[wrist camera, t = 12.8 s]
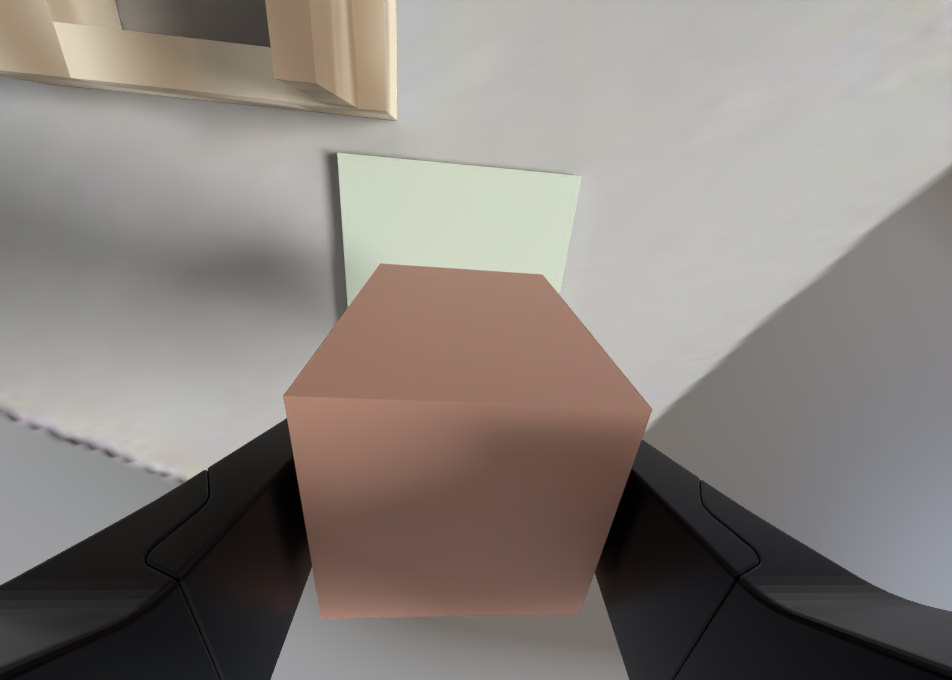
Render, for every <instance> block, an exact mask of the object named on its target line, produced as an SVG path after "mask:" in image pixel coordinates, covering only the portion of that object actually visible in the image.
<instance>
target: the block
mask: <svg viewBox="0 0 952 680" xmlns="http://www.w3.org/2000/svg"><path fill="white" fill-rule="evenodd" d="M283 397H284V403H285V409H286V415H287V421H288V427H289V432H290V438H291V444H292V450H293V456H294V462H295V468H296V474H297V479H298V485H299V491H300V497H301V503H302V509H303V515H304V521H305V526H306V532H307V538H308V544H309V550H310V556H311V562H312V568H313V573H314V579H315V585H316V590H317V597H318V603H319V609H320V615H321V618H382V617H447V616H509V615H575V614H580V612H581V609H582V607H583V604H584V601H585V598H586V595H587V593H588V590H589V587H590V584H591V581H592V578H593V576H594V573H595V570H596V567H597V564H598V561H599V559H600V556H601V553H602V550H603V547H604V544H605V542H606V539H607V536H608V533H609V530H610V527H611V525H612V522H613V519H614V516H615V513H616V511H617V508H618V505H619V502H620V499H621V496H622V494H623V491H624V488H625V485H626V482H627V479H628V477H629V474H630V471H631V468H632V465H633V462H634V460H635V457H636V454H637V451H638V448H639V445H640V443H641V440H642V437H643V434H644V431H645V429H646V426H647V423H648V420H649V417H650V414H651V412H652V408H651V407H650V406H649V405H648V403H647V402H646V401H645V400H644V398H643V397H642V396H641V395H640V393H639V392H638V391H637V390H636V389H635V387H634V386H633V385H632V384H631V382H630V381H629V380H628V379H627V377H626V376H625V375H624V374H623V373H622V371H621V370H620V369H619V368H618V366H617V365H616V364H615V363H614V361H613V360H612V359H611V358H610V357H609V355H608V354H607V353H606V352H605V350H604V349H603V348H602V347H601V346H600V344H599V343H598V342H597V341H596V339H595V338H594V337H593V336H592V334H591V333H590V332H589V331H588V330H587V328H586V327H585V326H584V325H583V323H582V322H581V321H580V320H579V318H578V317H577V316H576V315H575V314H574V312H573V311H572V310H571V309H570V307H569V306H568V305H567V304H566V302H565V301H564V300H563V299H562V298H561V296H560V295H559V294H558V293H557V291H556V290H555V289H554V288H553V287H552V285H551V284H550V283H549V282H548V280H547V279H546V278H545V277H544V275H543V274H529V273H514V272H500V271H485V270H470V269H455V268H441V267H426V266H411V265H396V264H382V263H380V264H379V266H378V267H377V268H376V270H375V271H374V273H373V274H372V275H371V277H370V278H369V279H368V281H367V282H366V284H365V285H364V286H363V288H362V289H361V290H360V292H359V293H358V294H357V296H356V297H355V299H354V300H353V301H352V303H351V304H350V305H349V307H348V308H347V310H346V311H345V312H344V314H343V315H342V316H341V318H340V319H339V320H338V322H337V323H336V325H335V326H334V327H333V329H332V330H331V331H330V333H329V334H328V336H327V337H326V338H325V340H324V341H323V342H322V344H321V345H320V346H319V348H318V349H317V351H316V352H315V353H314V355H313V356H312V357H311V359H310V360H309V362H308V363H307V364H306V366H305V367H304V368H303V370H302V371H301V372H300V374H299V375H298V377H297V378H296V379H295V381H294V382H293V383H292V385H291V386H290V388H289V389H288V390H287V392H286V393H285V394H284V396H283Z"/></svg>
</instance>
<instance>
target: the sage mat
mask: <svg viewBox="0 0 952 680" xmlns="http://www.w3.org/2000/svg"><path fill="white" fill-rule="evenodd" d="M337 158H338V172H339V187H340V202H341V217H342V231H343V246H344V261H345V275H346V290H347V305H348V307H349V305H350V304H351V303H352V301H353V300H354V299H355V297H356V296H357V294H358V293H359V292H360V290H361V289H362V288H363V286H364V285H365V284H366V282H367V281H368V279H369V278H370V277H371V275H372V274H373V273H374V271H375V270H376V268H377V267H378V266H379V264H380V263H382V264H396V265H411V266H426V267H441V268H455V269H470V270H485V271H500V272H514V273H529V274H543V275H544V277H545V278H546V279H547V280H548V282H549V283H550V284H551V285H552V287H553V288H554V289H555V290H556V291H557V293H558V294H559V295H560V289H561V284H562V279H563V274H564V269H565V263H566V258H567V253H568V248H569V242H570V237H571V232H572V227H573V222H574V216H575V211H576V206H577V201H578V195H579V190H580V185H581V180H582V176H577V175H566V174H556V173H545V172H535V171H524V170H514V169H503V168H493V167H482V166H472V165H461V164H451V163H440V162H430V161H419V160H409V159H398V158H388V157H377V156H367V155H356V154H346V153H337Z"/></svg>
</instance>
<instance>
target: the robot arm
mask: <svg viewBox="0 0 952 680" xmlns="http://www.w3.org/2000/svg"><path fill="white" fill-rule="evenodd" d="M311 568H312V562H311V556H310V550H309V544H308V538H307V532H306V526H305V521H304V515H303V509H302V503H301V497H300V491H299V485H298V479H297V474H296V468H295V462H294V456H293V450H292V444H291V438H290V432H289V427H288V421H287V419H285V420H283V421H282V422H280V423H279V424H277V425H275V426H274V427H272V428H271V429H269V430H267V431H266V432H264V433H263V434H261V435H259V436H258V437H256V438H255V439H253V440H252V441H250V442H248V443H247V444H245V445H244V446H242V447H240V448H239V449H237V450H236V451H234V452H232V453H231V454H229V455H228V456H226V457H224V458H223V459H221V460H220V461H218V462H217V463H215V464H213V465H212V466H210V467H209V468H208V471H207V470H204V471H202V472H200V473H199V474H197V475H196V476H194V477H192V478H191V479H189V480H188V481H186V482H184V483H183V484H181V485H179V486H178V487H176V488H175V489H173V490H171V491H170V492H168V493H166V494H165V495H163V496H161V497H160V498H158V499H156V500H155V501H153V502H151V503H150V504H148V505H146V506H144V507H142V508H141V509H139V510H137V511H136V512H134V513H132V514H130V515H128V516H126V517H125V518H123V519H121V520H119V521H118V522H116V523H114V524H112V525H110V526H109V527H107V528H105V529H104V530H101V531H99V532H98V533H96V534H94V535H92V536H90V537H88V538H87V539H85V540H83V541H81V542H79V543H77V544H76V545H74V546H72V547H70V548H68V549H66V550H65V551H63V552H61V553H59V554H58V555H56V556H54V557H52V558H50V559H48V560H46V561H45V562H43V563H41V564H39V565H37V566H35V567H34V568H32V569H30V570H28V571H26V572H24V573H23V574H21V575H19V576H17V577H15V578H13V579H12V580H10V581H8V582H6V583H4V584H2V585H0V680H270V679H271V676H272V674H273V671H274V668H275V666H276V663H277V660H278V658H279V655H280V652H281V649H282V646H283V644H284V641H285V639H286V636H287V633H288V630H289V627H290V625H291V622H292V620H293V617H294V614H295V611H296V609H297V606H298V603H299V601H300V598H301V595H302V592H303V590H304V587H305V584H306V582H307V579H308V576H309V573H310V571H311ZM595 575H596V578H597V581H598V584H599V587H600V591H601V593H602V597H603V600H604V603H605V606H606V609H607V612H608V615H609V618H610V621H611V624H612V628H613V631H614V634H615V637H616V640H617V643H618V646H619V649H620V652H621V655H622V658H623V662H624V665H625V667H626V671H627V674H628V677H629V680H952V612H951V611H947V610H942V609H938V608H934V607H930V606H926V605H922V604H919V603H916V602H913V601H910V600H907V599H904V598H902V597H899V596H897V595H894V594H892V593H889V592H887V591H885V590H883V589H881V588H879V587H876V586H874V585H872V584H870V583H869V582H867V581H865V580H863V579H862V578H860V577H858V576H856V575H854V574H853V573H851V572H850V571H848V570H846V569H845V568H843V567H841V566H840V565H838V564H836V563H835V562H833V561H831V560H829V559H828V558H826V557H825V556H823V555H821V554H820V553H818V552H816V551H815V550H813V549H811V548H809V547H808V546H806V545H804V544H803V543H801V542H800V541H798V540H796V539H795V538H793V537H791V536H790V535H788V534H786V533H785V532H783V531H781V530H780V529H778V528H776V527H774V526H773V525H771V524H770V523H768V522H766V521H765V520H763V519H761V518H760V517H758V516H757V515H755V514H753V513H752V512H750V511H749V510H747V509H745V508H744V507H742V506H740V505H739V504H738V503H736V502H735V501H733V500H731V499H730V498H728V497H727V496H725V495H724V494H722V493H721V492H719V491H718V490H716V489H715V488H713V487H712V486H710V485H709V484H707V483H706V482H704V481H703V480H699V478H698V477H697V476H696V475H694V474H692V473H691V472H689V471H688V470H687V469H685V468H684V467H682V466H681V465H679V464H678V463H676V462H675V461H673V460H672V459H670V458H669V457H667V456H666V455H665V454H663V453H662V452H660V451H659V450H657V449H656V448H654V447H653V446H651V445H650V444H648V443H647V442H645V441H644V440H641V443H640V445H639V448H638V451H637V454H636V457H635V460H634V462H633V465H632V468H631V471H630V474H629V477H628V479H627V482H626V485H625V488H624V491H623V494H622V496H621V499H620V502H619V505H618V508H617V511H616V513H615V516H614V519H613V522H612V525H611V527H610V530H609V533H608V536H607V539H606V542H605V544H604V547H603V550H602V553H601V556H600V559H599V561H598V564H597V567H596V570H595Z"/></svg>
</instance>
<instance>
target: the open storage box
mask: <svg viewBox="0 0 952 680" xmlns="http://www.w3.org/2000/svg"><path fill="white" fill-rule="evenodd" d="M265 5H266V13H267V21H268V29H269V37H270V45H271V47H264V46H255V45H247V44H238V43H230V42H222V41H213V40H205V39H196V38H188V37H179V36H171V35H162V34H154V33H146V32H137V31H129V30H123V29H122V26H121V22H120V18H119V14H118V10H117V6H116V2H115V0H0V75H5V76H10V77H15V78H20V79H25V80H30V81H35V82H40V83H45V84H54V85H63V86H73V87H82V88H92V89H101V90H111V91H121V92H130V93H140V94H149V95H159V96H168V97H178V98H188V99H197V100H207V101H216V102H226V103H235V104H245V105H255V106H264V107H274V108H283V109H293V110H303V111H312V112H322V113H331V114H341V115H350V116H360V117H370V118H379V119H389V120H397V6H396V0H265Z"/></svg>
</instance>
